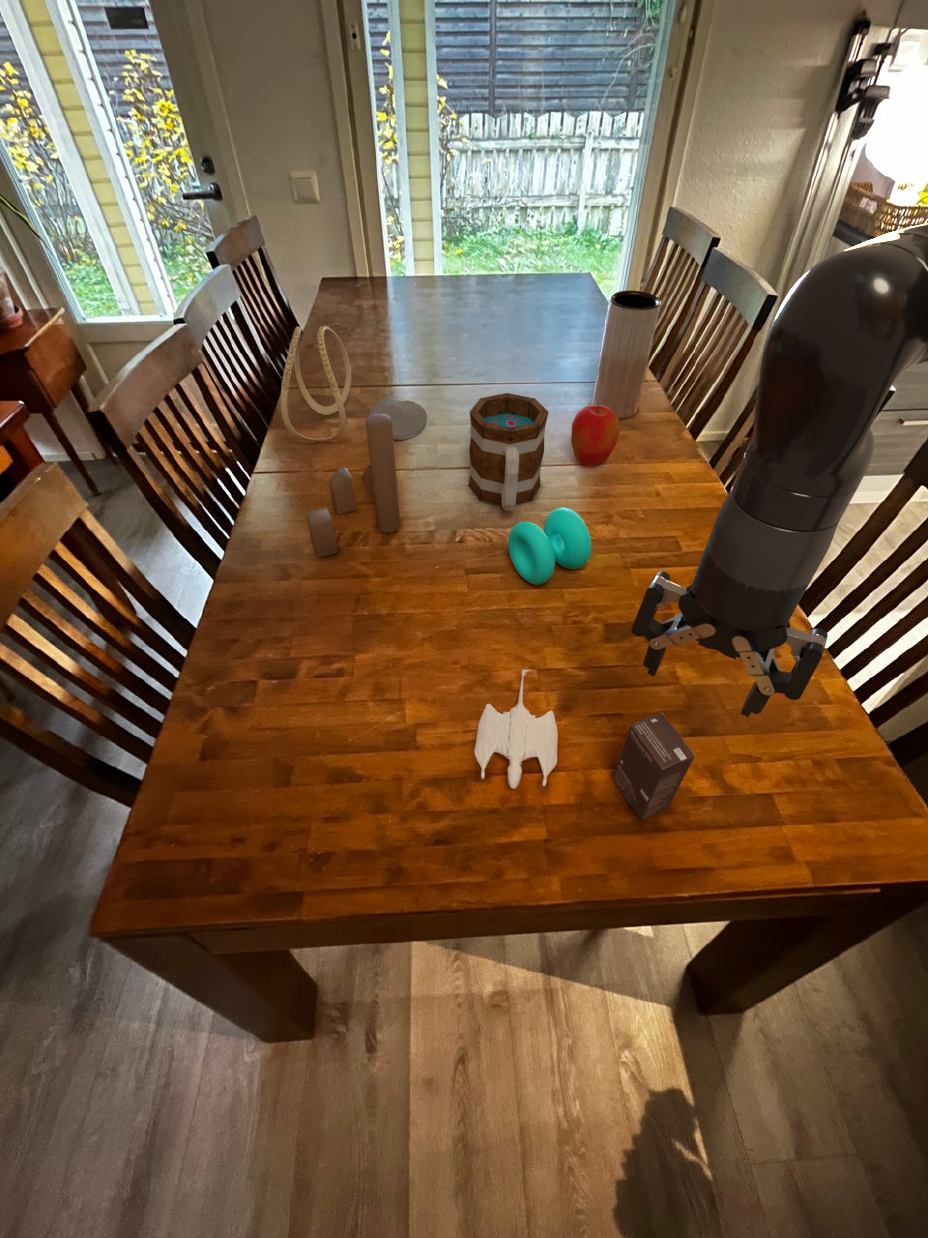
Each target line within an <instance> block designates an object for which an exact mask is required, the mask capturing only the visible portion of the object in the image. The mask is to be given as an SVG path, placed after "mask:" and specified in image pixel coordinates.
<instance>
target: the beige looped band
mask: <svg viewBox="0 0 928 1238" xmlns="http://www.w3.org/2000/svg"><path fill="white" fill-rule="evenodd" d="M325 332H326V333H328V335H330V337H331V338H332V339H333V341H334V343H335V344H336V346H337V348H338V349H339V351H340V354H341V357H342V361H343V363H344V369H345V379H344V380H345V381H344V386H343V390H342V392H341V393H340V389H339V386H338V383H337V380H336V377H335V375H334V372H333V369H332V366H331V362H330V359H329V356H328V353H327V349H326V344H325ZM316 337H317V346H318V350H319V355H320V358H321V359H320V360H321V362H322V365H323V368H324V369H323V370H324V371H325V374H326V377H327V381H328V383H329V386H330V389H331V392H332V395H333V397H334V401H335V402H334V403H333V404H331V405H328V406H323V405H321V404H319V403H318V402H317V401H315V400H314V399H313V397H312V396H311V394H310V392H309V391H308V390H307V388H306V385H305V383H304V380H303V377H302V372H301V366H300V351H301V350H300V349H301V348H300V347H301V339H302V327H301V326H295V328H294V330H293V334H292V337H291V341H290V345H289V348H288V352H287V357H286V361H285V367H284V370H283V376H282V381H281V388H280V389H281V390H280V412H281V418H282V422H283V424H284V426H285V428H286V430H287V431H288V432H289V433H290V434H291V435H292V436H293V437H295V438H297V439H299V440H302V441H305V442H314V443H315V442H317V443H319V442H321V443H322V442H332V441H337V440H339V439H341V438H342V437H343V435H344V434H345V432H346V428H347V419H346V418H347V416H346V411H345V405H344V404H345V403H346V401H347V398H348V397H349V394H350V390H351V385H352V367H351V361H350V358H349V355H348V352H347V350H346V347H345V345H344V343H343V342H342V340H341V338H340V337H339V335H338V334H337V333H336V332H335V331H334V330H333V329H332V328H331V327H330V326H327V325H322V326H320V327H318V329H317V335H316ZM293 368H294V374H295V378H296V382H297V385H298V388H299V390H300V393H301V396H302V397H303V399H304V401H305V402H306V403H307V405H308V406H309V407H310V408H311V409H312V410H313V411H314V412H316V413H317V414H320V415H323V416H329V415H333V414H335V413H337V412H338V417H339V426H338V430H337V432H336V433H335V434H334V435H332V436H330V437H325V438H314V437H313V438H312V437H308V436H305V435H302V434H301V433H299V432H298V431H297V430H296V429H295V428H294V427H293V424H292V423H291V421H290V418H289V412H288V395H289V386H290V380H291V376H292V375H291V374H292V371H293V370H292V369H293Z"/></svg>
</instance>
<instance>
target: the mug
mask: <svg viewBox="0 0 928 1238" xmlns="http://www.w3.org/2000/svg"><path fill="white" fill-rule="evenodd" d="M473 405H474V406H472V408H471V409H470V410H469V419H470V427H471V428H470V440H469V447H468V448H469V449H468V453H469V463H470V464H469V465H470V466H469V467H470V468H469V469H470V470H469V479H468V487H469V489H470V490H471V492H472V493H473V494H474V495H475V497H476V498H477V500H478V501H479V502H483V503H487V504H490V505H494V506H499V507H501V508H502V509H503V510H504V511H508V512H509V511H510V512H511V511H513V510H515V509H516V506H518V505H522V504H527V503H530V502H532V501H533V500H534V498H535V496H536V495H537V493H538V491H539V490H540V488H541V470H542V462H543V458H544V453H545V433H546V424H547V420H548V416H549V410H547V409H546V407H544V406H543V405H542V404H541V403H540V401H538V400H537V399H536V398H535V397H531V396H525V395H520V394H515V393H509V392H505V393H500V394H499V393H498V394H493V395H489V396H484V397H480V398H479V399H478V400H477V402H476V403H475V404H473Z"/></svg>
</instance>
